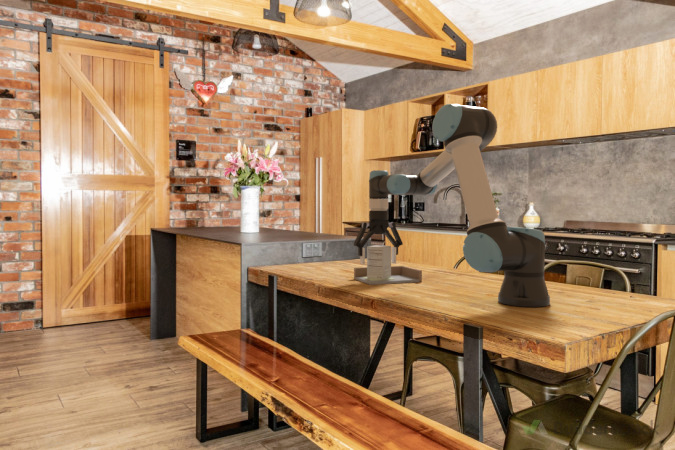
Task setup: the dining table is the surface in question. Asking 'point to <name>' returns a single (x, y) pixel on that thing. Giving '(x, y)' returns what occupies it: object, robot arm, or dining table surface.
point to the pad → (378, 279)
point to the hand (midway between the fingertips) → (378, 264)
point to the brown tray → (397, 272)
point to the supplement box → (378, 262)
